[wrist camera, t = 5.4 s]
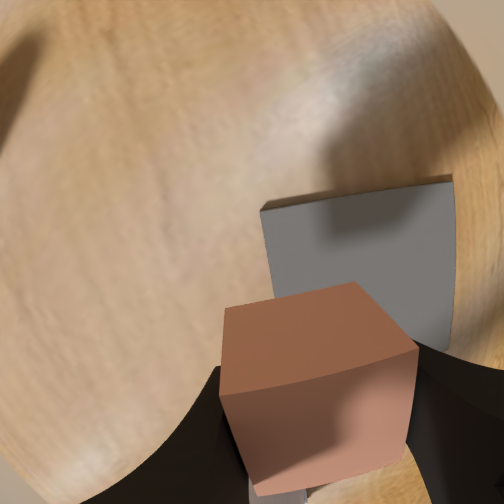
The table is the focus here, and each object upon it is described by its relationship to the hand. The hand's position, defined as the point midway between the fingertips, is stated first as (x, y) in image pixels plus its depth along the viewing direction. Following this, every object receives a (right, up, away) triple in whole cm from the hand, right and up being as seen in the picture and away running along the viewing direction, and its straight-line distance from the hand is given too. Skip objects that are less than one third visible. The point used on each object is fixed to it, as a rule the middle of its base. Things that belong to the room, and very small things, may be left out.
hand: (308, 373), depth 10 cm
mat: (+6, +1, +9) cm, 10 cm away
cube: (0, 0, +1) cm, 1 cm away
